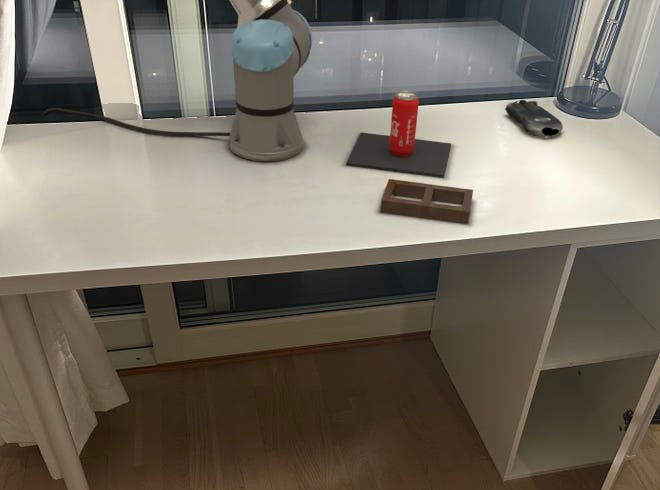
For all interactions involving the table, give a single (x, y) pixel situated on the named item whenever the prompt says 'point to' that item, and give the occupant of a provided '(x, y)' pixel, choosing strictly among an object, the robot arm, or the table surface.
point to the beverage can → (403, 123)
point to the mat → (422, 160)
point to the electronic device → (534, 118)
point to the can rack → (427, 201)
